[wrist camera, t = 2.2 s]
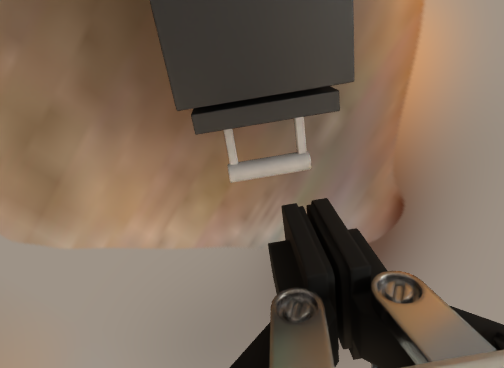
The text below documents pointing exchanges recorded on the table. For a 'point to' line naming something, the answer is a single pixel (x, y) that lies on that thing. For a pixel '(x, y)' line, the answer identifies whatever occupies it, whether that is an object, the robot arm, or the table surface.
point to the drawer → (266, 112)
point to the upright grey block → (253, 47)
